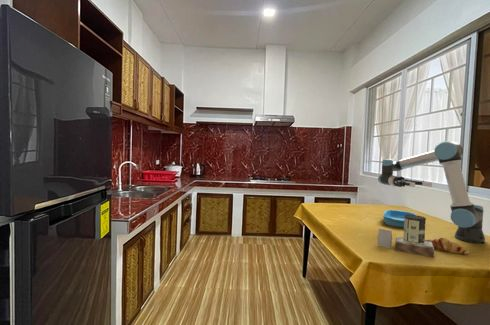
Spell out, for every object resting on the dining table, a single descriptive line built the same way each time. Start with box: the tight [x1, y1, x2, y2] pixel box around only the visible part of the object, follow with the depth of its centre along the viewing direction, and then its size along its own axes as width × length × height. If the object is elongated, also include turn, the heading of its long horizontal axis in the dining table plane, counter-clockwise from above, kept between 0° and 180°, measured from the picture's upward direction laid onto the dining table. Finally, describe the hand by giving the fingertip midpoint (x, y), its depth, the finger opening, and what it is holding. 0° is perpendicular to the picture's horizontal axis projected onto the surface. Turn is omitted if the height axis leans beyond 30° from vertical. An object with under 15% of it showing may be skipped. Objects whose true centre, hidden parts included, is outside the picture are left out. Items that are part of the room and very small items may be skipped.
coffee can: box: [403, 214, 427, 244], centre depth 150 cm, size 10×10×14 cm
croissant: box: [425, 237, 470, 255], centre depth 152 cm, size 21×10×8 cm, turn 45°
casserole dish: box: [382, 209, 417, 229], centre depth 210 cm, size 37×22×7 cm, turn 146°
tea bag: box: [376, 228, 393, 249], centre depth 155 cm, size 4×7×10 cm, turn 52°
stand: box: [394, 236, 435, 258], centre depth 150 cm, size 18×11×5 cm, turn 59°
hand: (423, 184), depth 172 cm, fingers open, 13 cm apart
